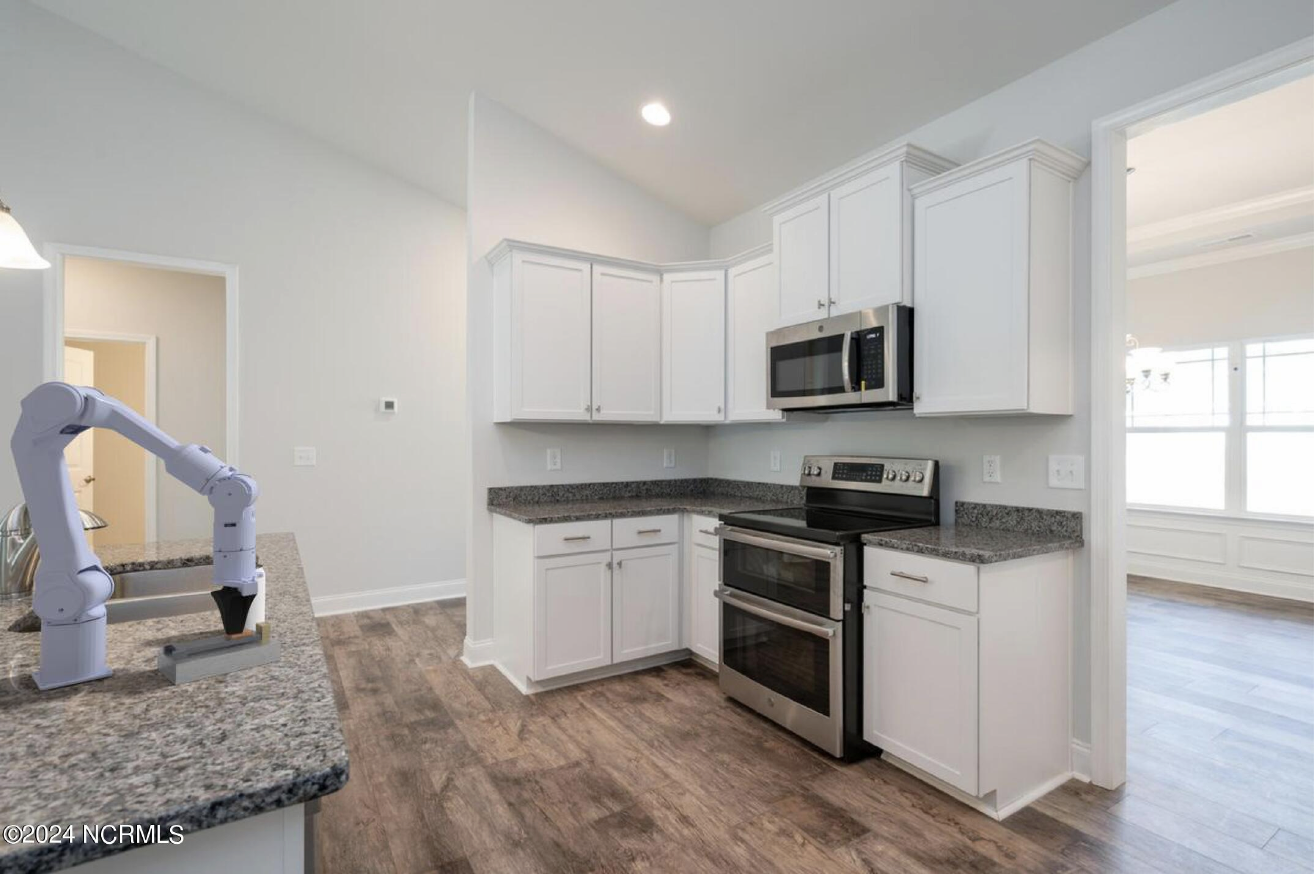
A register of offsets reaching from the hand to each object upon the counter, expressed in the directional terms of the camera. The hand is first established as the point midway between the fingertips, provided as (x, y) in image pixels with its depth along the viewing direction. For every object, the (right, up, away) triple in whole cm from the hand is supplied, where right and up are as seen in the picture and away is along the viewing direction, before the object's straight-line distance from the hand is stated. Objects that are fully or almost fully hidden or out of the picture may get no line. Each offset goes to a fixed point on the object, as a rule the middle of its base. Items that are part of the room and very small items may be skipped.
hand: (234, 633), depth 101 cm
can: (-10, -5, +17) cm, 20 cm away
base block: (-1, -5, -1) cm, 5 cm away
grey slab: (-2, -1, -2) cm, 3 cm away
